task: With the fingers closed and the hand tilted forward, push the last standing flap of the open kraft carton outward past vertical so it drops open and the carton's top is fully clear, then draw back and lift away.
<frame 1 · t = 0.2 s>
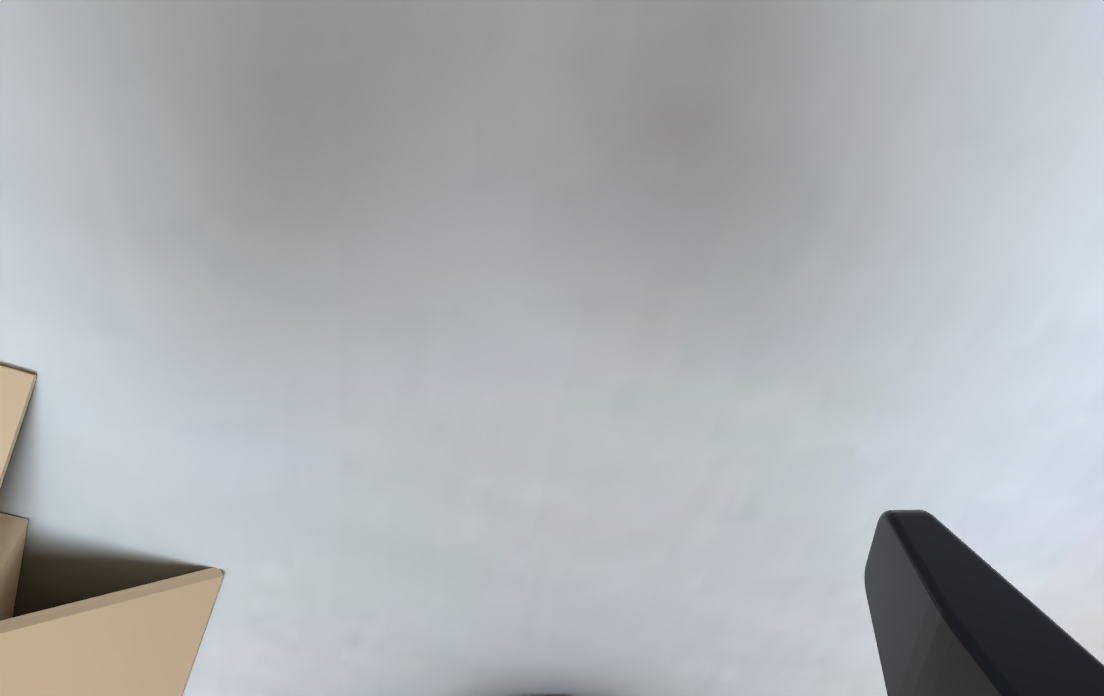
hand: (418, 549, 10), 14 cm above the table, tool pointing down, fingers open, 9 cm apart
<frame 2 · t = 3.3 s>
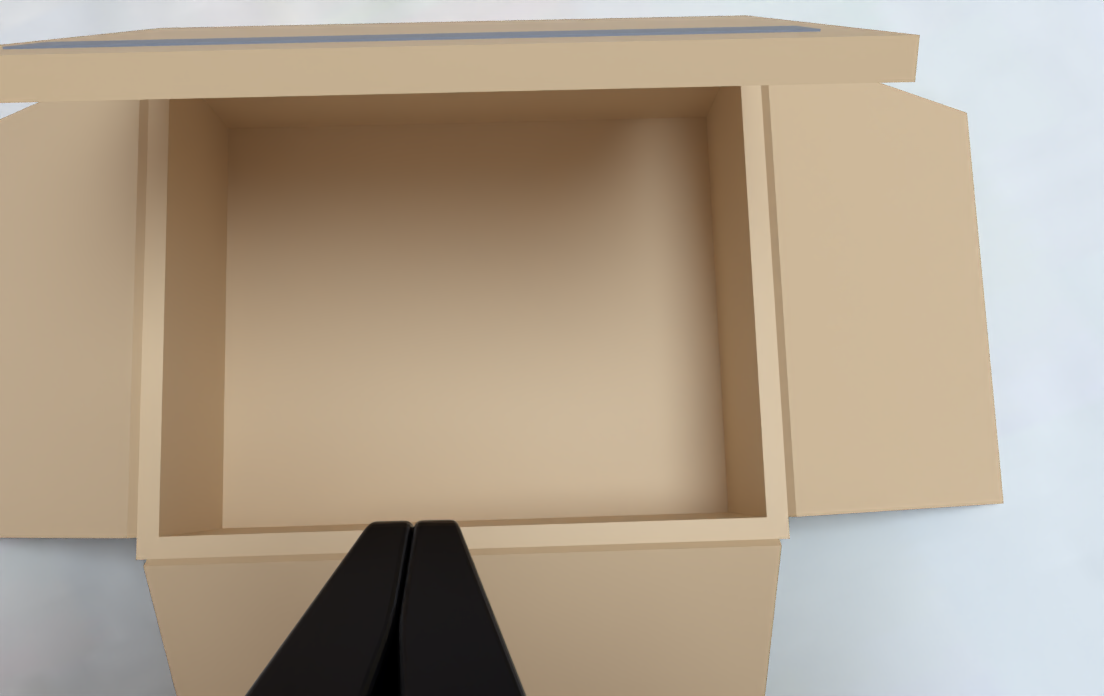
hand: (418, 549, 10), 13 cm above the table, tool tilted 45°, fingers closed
far flap: (436, 47, 15), point 8 cm above the table, hinge at -28.0°
carton: (473, 318, 23), on the table
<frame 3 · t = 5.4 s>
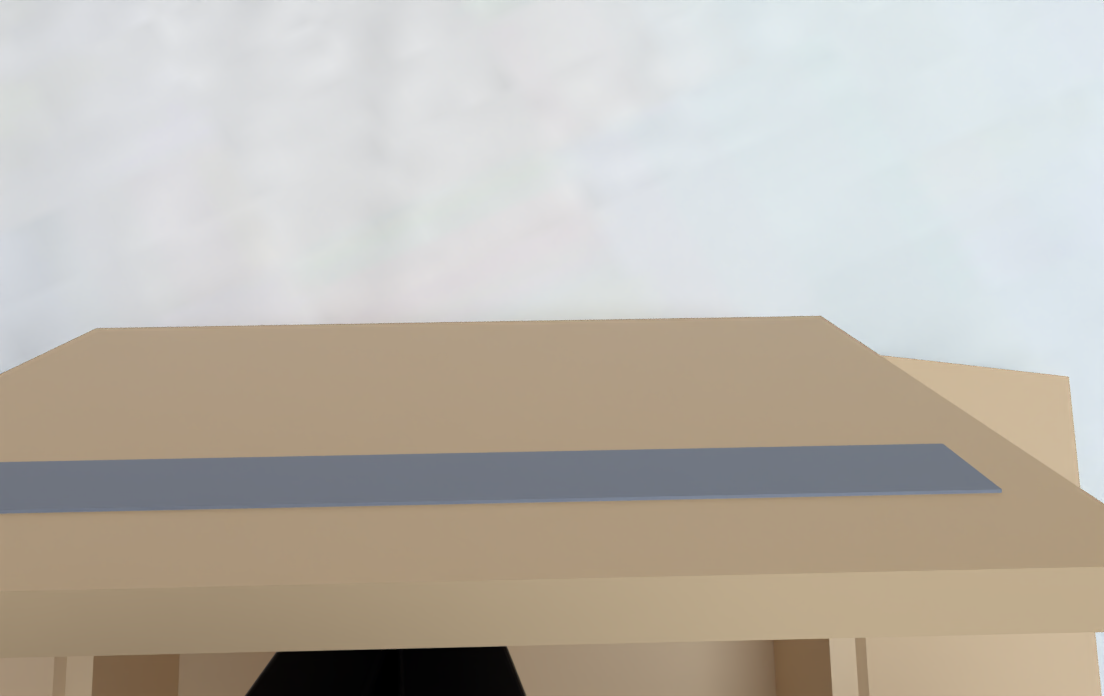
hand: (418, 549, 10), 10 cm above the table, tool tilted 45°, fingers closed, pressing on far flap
far flap: (435, 422, 11), point 8 cm above the table, hinge at -21.9°, touching gripper
carton: (478, 626, 19), on the table
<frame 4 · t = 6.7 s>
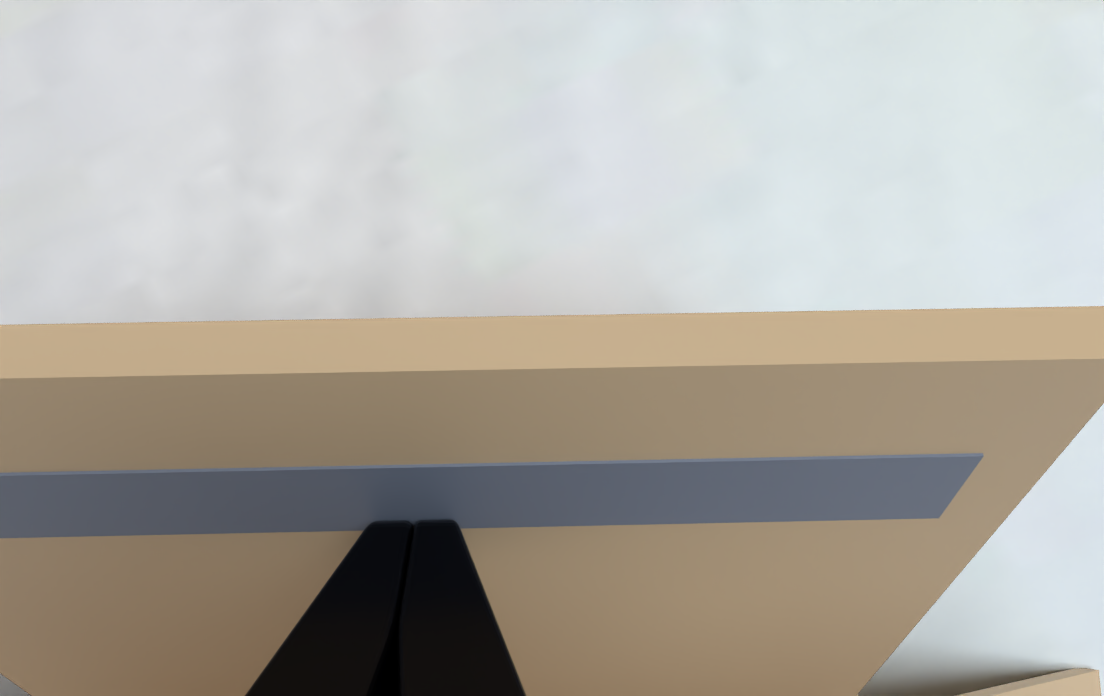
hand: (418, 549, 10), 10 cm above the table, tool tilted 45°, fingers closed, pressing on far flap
far flap: (437, 580, 11), point 8 cm above the table, hinge at 27.2°, touching gripper
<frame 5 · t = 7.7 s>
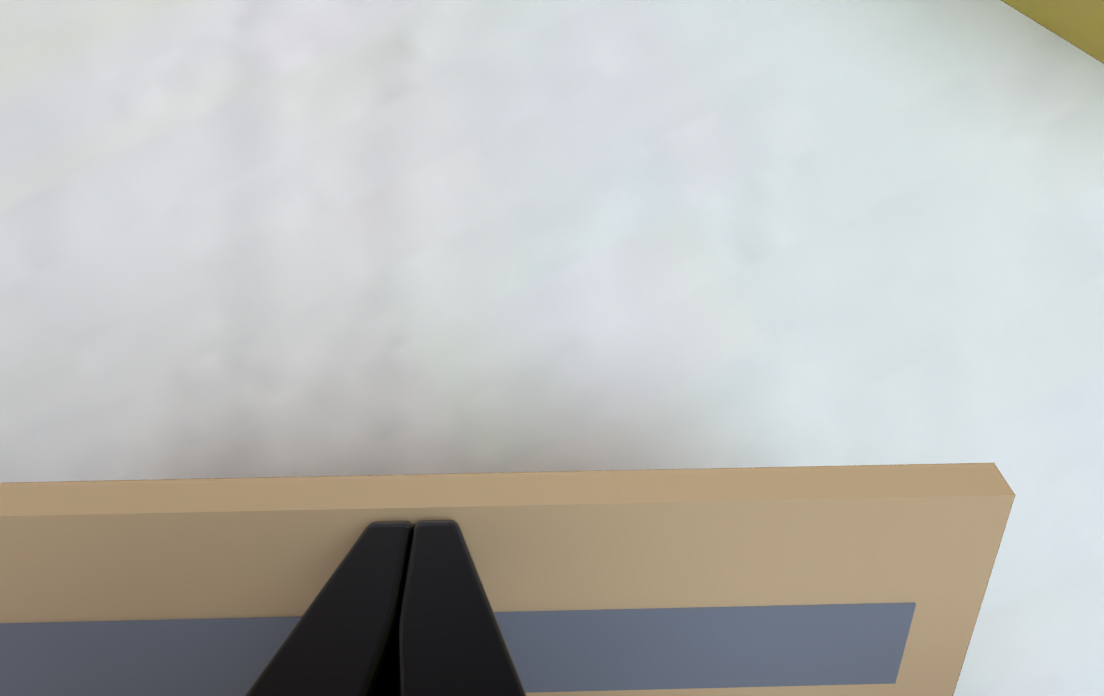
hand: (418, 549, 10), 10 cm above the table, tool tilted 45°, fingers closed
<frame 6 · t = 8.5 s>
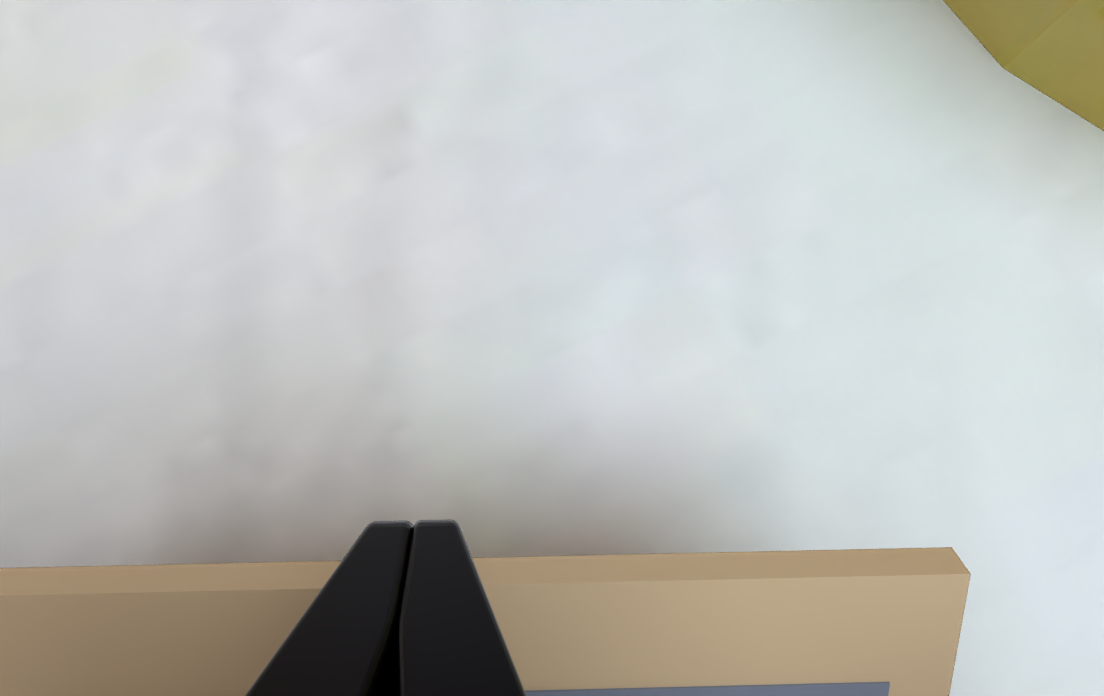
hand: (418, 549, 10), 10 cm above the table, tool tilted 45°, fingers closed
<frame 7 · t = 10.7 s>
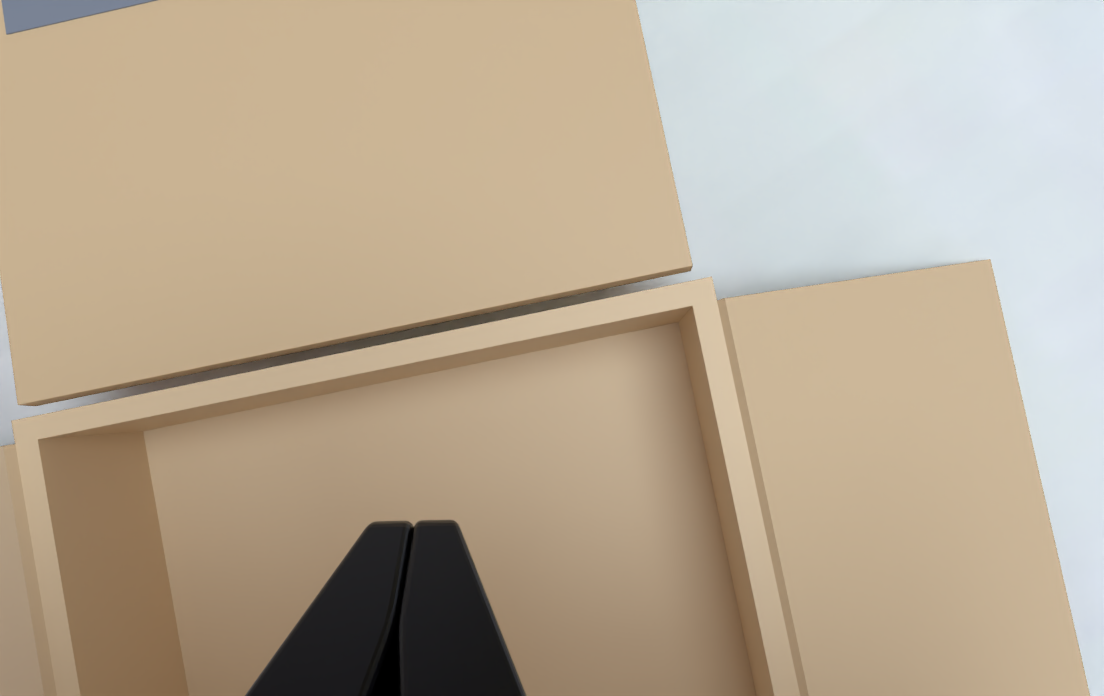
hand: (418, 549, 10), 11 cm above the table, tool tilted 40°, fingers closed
far flap: (308, 81, 17), point 4 cm above the table, hinge at 93.0°
carton: (452, 599, 20), on the table
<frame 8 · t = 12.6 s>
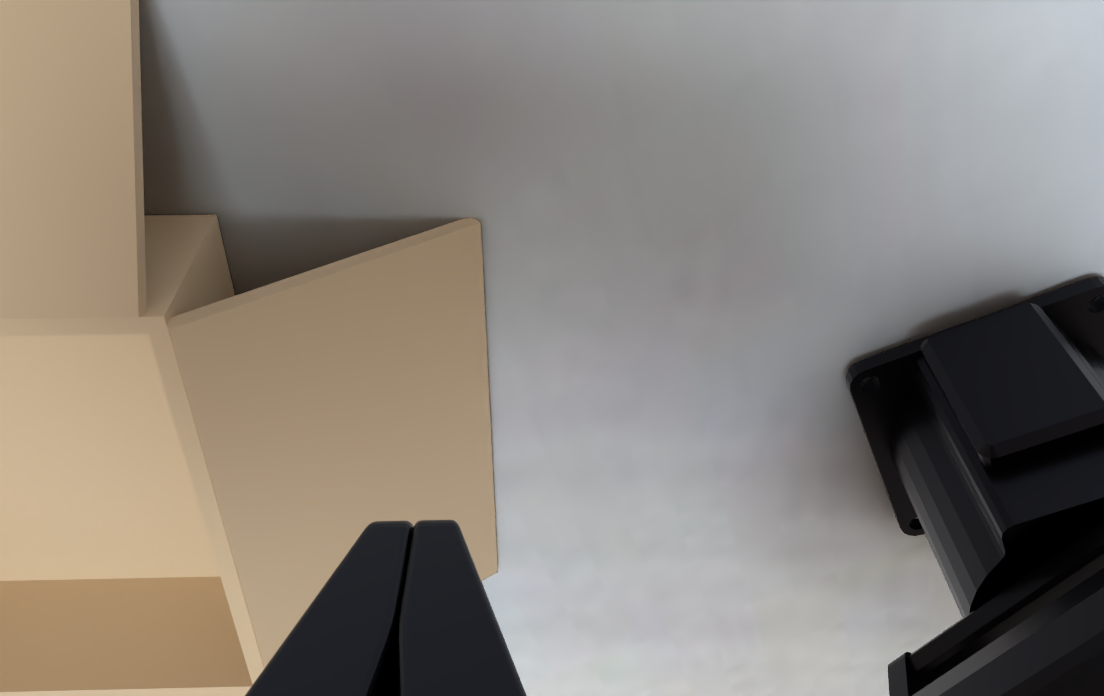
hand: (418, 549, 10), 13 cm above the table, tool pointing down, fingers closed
carton: (67, 424, 25), on the table
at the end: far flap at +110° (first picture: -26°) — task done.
